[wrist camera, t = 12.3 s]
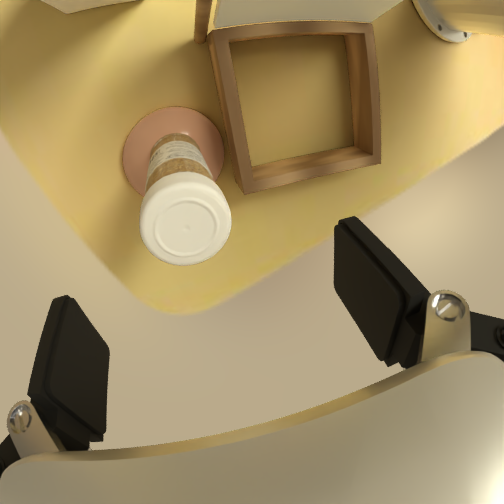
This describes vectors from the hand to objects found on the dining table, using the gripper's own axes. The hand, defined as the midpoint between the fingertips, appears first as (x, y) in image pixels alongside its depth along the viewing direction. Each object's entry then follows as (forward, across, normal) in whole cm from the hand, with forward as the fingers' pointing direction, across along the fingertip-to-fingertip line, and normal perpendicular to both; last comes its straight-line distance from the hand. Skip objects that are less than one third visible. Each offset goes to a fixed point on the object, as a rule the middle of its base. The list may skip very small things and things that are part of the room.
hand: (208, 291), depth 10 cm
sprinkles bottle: (+19, +1, 0) cm, 19 cm away
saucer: (+19, +1, +1) cm, 19 cm away
